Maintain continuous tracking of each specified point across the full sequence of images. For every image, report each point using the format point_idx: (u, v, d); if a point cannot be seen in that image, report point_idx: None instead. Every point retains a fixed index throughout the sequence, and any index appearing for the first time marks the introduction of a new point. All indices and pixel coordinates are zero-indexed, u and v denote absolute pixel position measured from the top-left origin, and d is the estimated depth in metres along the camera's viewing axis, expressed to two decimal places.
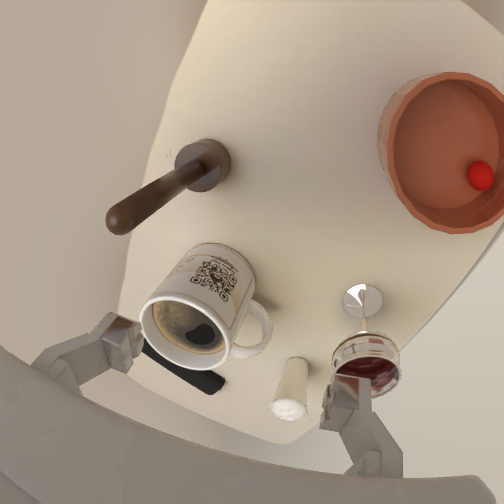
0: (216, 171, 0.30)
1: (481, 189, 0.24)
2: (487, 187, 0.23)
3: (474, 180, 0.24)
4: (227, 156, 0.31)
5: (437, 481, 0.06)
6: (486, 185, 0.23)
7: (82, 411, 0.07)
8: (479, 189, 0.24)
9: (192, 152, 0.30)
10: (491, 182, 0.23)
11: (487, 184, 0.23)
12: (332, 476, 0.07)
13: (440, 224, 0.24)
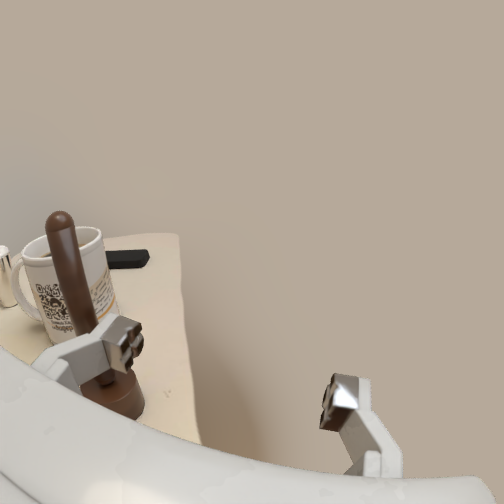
0: (85, 386, 0.21)
1: None
2: None
3: None
4: None
5: (437, 481, 0.06)
6: None
7: (82, 411, 0.07)
8: None
9: (116, 392, 0.21)
10: None
11: None
12: (332, 476, 0.07)
13: None
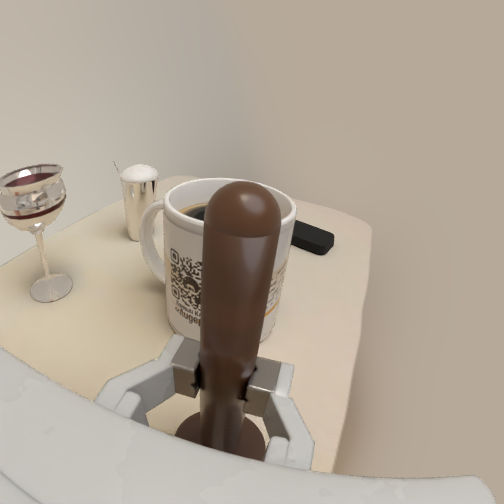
0: (182, 437, 0.15)
1: None
2: None
3: None
4: None
5: (437, 481, 0.06)
6: None
7: (82, 411, 0.07)
8: None
9: None
10: None
11: None
12: (332, 476, 0.07)
13: None
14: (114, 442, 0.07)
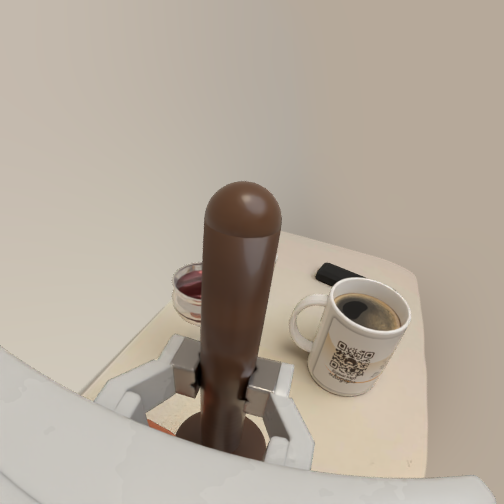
0: (183, 437, 0.15)
1: None
2: None
3: None
4: None
5: (437, 481, 0.06)
6: None
7: (82, 411, 0.07)
8: None
9: None
10: None
11: None
12: (332, 476, 0.07)
13: None
14: (114, 442, 0.07)
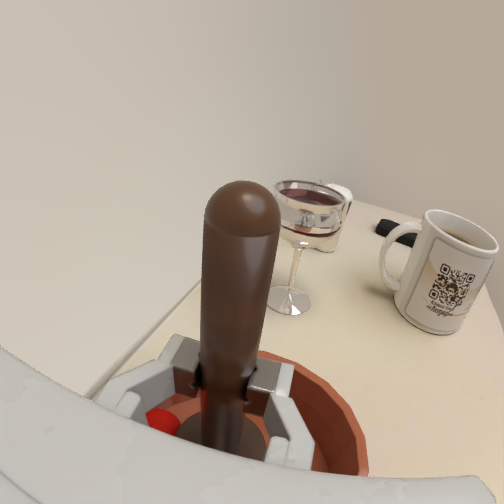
0: (183, 437, 0.15)
1: (157, 408, 0.18)
2: None
3: (169, 415, 0.17)
4: None
5: (437, 481, 0.06)
6: None
7: (82, 411, 0.07)
8: (159, 408, 0.18)
9: None
10: None
11: None
12: (332, 476, 0.07)
13: None
14: (114, 442, 0.07)
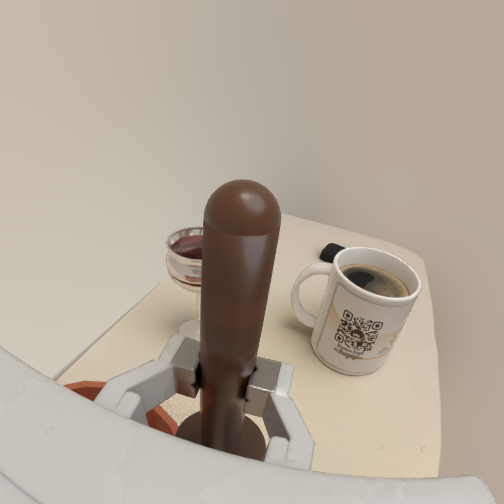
0: (183, 437, 0.15)
1: None
2: None
3: None
4: None
5: (437, 481, 0.06)
6: None
7: (82, 411, 0.07)
8: None
9: None
10: None
11: None
12: (332, 476, 0.07)
13: None
14: (114, 442, 0.07)
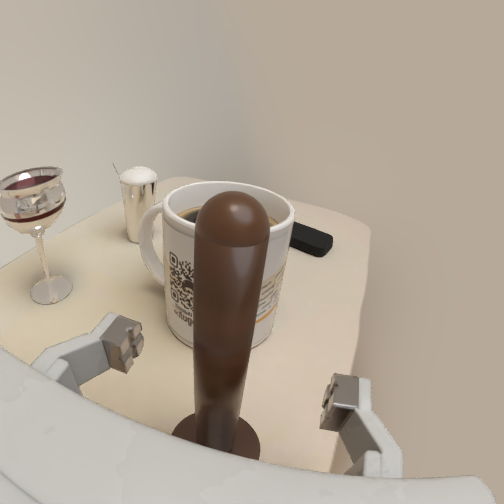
0: None
1: None
2: None
3: None
4: None
5: (437, 481, 0.06)
6: None
7: (82, 411, 0.07)
8: None
9: None
10: None
11: None
12: (332, 476, 0.07)
13: None
14: (114, 442, 0.07)
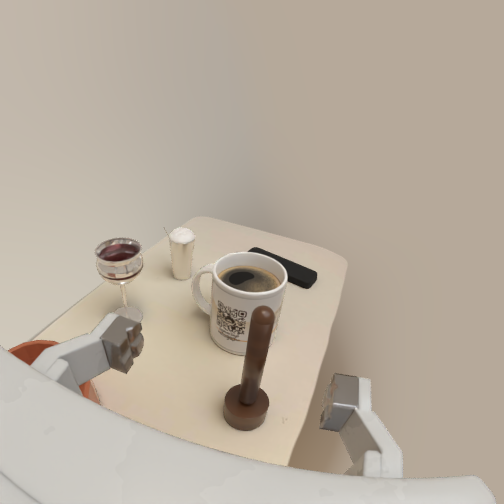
0: (229, 397, 0.33)
1: None
2: None
3: None
4: (224, 414, 0.34)
5: (437, 481, 0.06)
6: None
7: (82, 411, 0.07)
8: None
9: (251, 412, 0.32)
10: None
11: None
12: (332, 476, 0.07)
13: None
14: (114, 442, 0.07)
